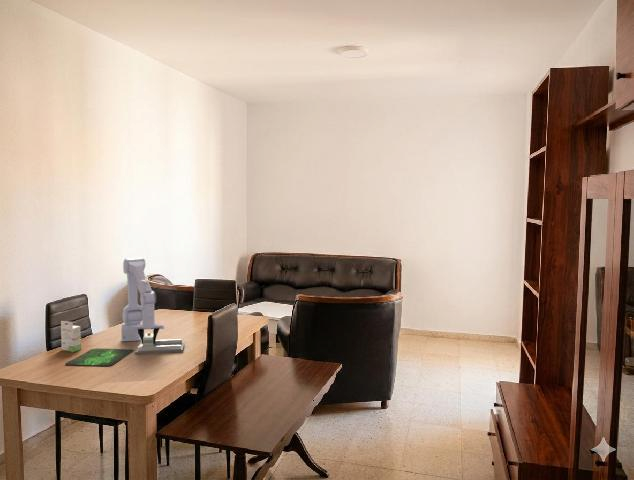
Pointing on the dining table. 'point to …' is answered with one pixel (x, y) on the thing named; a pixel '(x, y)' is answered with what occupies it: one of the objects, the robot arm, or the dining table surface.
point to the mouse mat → (100, 357)
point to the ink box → (70, 336)
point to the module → (148, 339)
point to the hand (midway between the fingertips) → (148, 343)
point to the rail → (158, 342)
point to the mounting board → (161, 350)
